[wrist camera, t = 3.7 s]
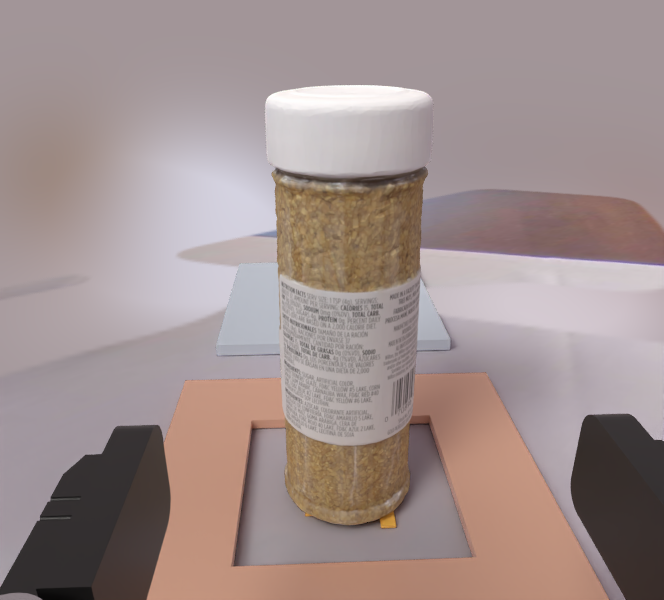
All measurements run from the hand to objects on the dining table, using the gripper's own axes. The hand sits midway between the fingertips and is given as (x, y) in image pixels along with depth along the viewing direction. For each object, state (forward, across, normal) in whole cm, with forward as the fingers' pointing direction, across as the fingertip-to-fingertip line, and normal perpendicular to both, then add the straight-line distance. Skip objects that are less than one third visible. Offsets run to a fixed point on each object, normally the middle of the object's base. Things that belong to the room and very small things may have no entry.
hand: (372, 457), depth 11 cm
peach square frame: (+8, 0, +8) cm, 11 cm away
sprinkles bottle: (+8, 0, +8) cm, 11 cm away
